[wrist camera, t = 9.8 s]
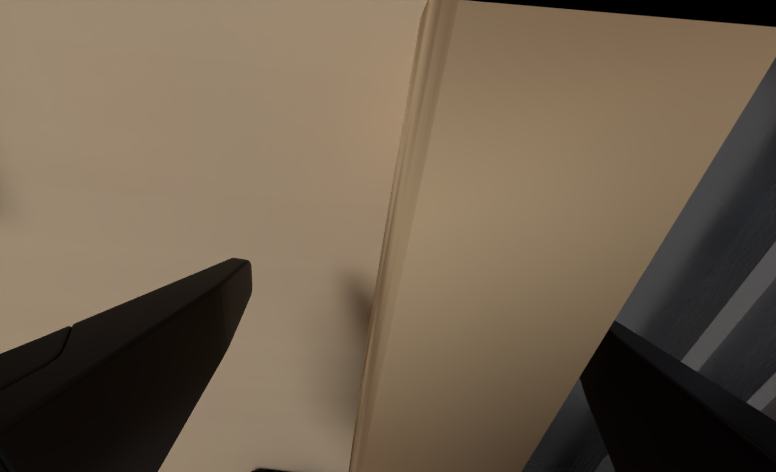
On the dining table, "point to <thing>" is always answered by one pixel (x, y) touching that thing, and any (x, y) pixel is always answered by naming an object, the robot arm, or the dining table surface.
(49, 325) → the dining table surface
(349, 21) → the dining table surface
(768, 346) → the rack
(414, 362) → the oak sheet
